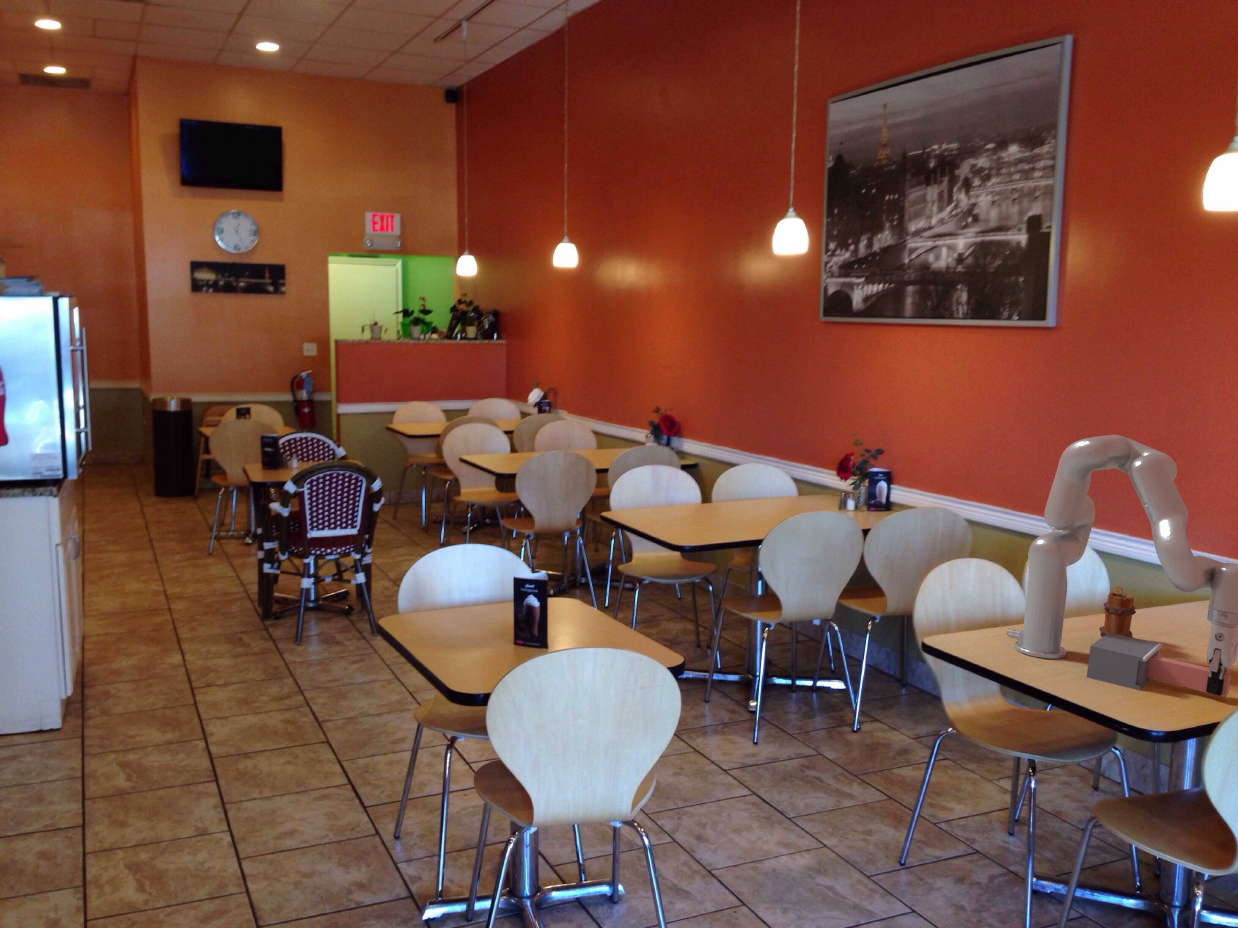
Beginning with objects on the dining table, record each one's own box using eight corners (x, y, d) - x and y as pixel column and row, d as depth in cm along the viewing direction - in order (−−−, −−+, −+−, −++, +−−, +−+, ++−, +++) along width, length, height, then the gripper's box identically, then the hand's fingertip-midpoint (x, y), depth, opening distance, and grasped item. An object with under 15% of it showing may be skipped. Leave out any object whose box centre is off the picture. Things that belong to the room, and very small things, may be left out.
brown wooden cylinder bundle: (1133, 652, 276) (1140, 598, 274) (1099, 648, 279) (1106, 593, 277) (1127, 637, 290) (1133, 585, 288) (1095, 633, 293) (1101, 581, 290)
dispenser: (1086, 676, 255) (1090, 644, 254) (1104, 662, 267) (1108, 631, 266) (1142, 690, 247) (1146, 657, 246) (1158, 674, 259) (1162, 643, 258)
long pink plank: (1142, 676, 253) (1144, 656, 252) (1145, 673, 255) (1148, 653, 254) (1226, 696, 242) (1229, 675, 241) (1228, 693, 244) (1231, 672, 243)
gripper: (1238, 627, 233) (1226, 705, 236) (1250, 613, 246) (1239, 687, 248) (1200, 619, 238) (1190, 696, 240) (1214, 606, 250) (1204, 679, 253)
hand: (1215, 691), depth 244 cm, fingers closed on long pink plank, 3 cm apart
